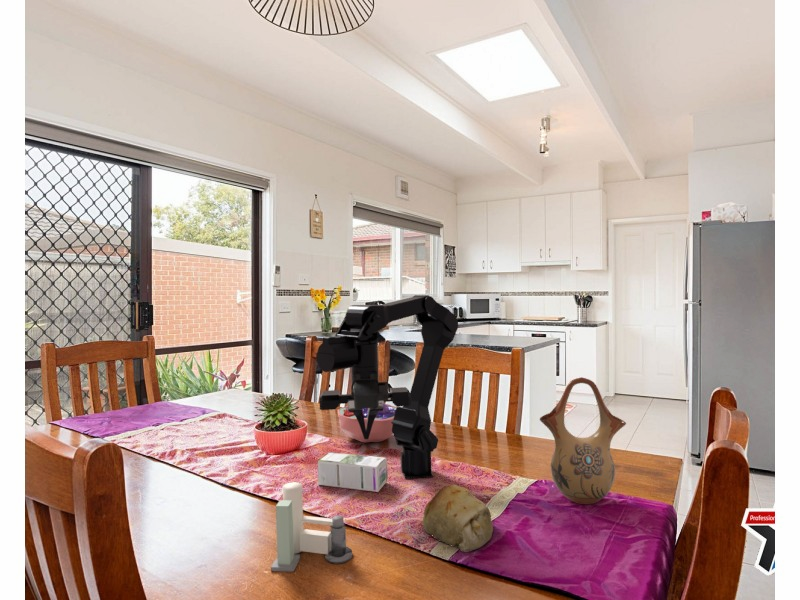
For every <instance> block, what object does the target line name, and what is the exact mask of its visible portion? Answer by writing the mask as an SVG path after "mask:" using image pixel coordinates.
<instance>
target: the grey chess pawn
mask: <svg viewBox="0 0 800 600" xmlns="http://www.w3.org/2000/svg"><path fill="white" fill-rule="evenodd" d="M330 532H331V551H330V552H329V554H324V555H325V556H324V559H325V561H326V562H327V563H329V564H332V565H341V564H344V563H345V564H346V563H347V562H349V561H350V560H352V557H353V550H352V548H350V547H349V546H347V536H346V535H347V533H346V532H347V531H346V524H345V523H344V525H343V526H342V527H340V528H334V527H333V526H332V525H330Z"/></svg>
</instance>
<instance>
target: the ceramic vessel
mask: <svg viewBox="0 0 800 600" xmlns="http://www.w3.org/2000/svg"><path fill="white" fill-rule="evenodd" d="M578 384H579V385H580V384H585V385H588V386H589V387H590V388H591V390H592V392H593V394H594V397H595V400H596V403H597V407H598V411H599V412H598V413H599V426H598V429H597V430H596V431H595V433H593V434H592V435H590V436H586V437H579V436H575V435H573V434H572V433H571V432H570V431H569V430H568V429H567V428H566V425H565V413H566V407H567V403H568V399H569V397H570V394H571V391H572V389H573V388H574V386H576V385H578ZM539 421H540V422H541V423H542V424H543V425H544V426H545V427H547V429H548V430H549V431H550V432H551V434H552V436H553V439H554V451H553V453H552V456H551V459H550V460H551V461H550V472H551V477H552V480H553V482H554V484H555V486H556V488H557V489H558V491H559V492H560V493H561V494H562V495H563V496H564V497H565V498H566V499H568V500H569V501H571V502H573V503H576V504H579V505H592V504H596V503H598V502H600V501H602V499H604V498H605V497H607V495H608V494H609V493H610V492H611V490H612V488H613V485H614V481H615V478H616V477H615V476H616V467H615V463H614V459H613V456H612V454H611V442H612V440H613V438H614V437H615V435H616V434H617V432H619V431H620V430H621V429H622V428H624V427H625V426H626V425H627V422H625V420H623V419H621V418H619V417H618V416H615V415H614V414H612V412H611V411H610V410H609V409H608V407H607V406H606V404H605V402H604V400H603V397H602V394H601V392H600V389H599V387H598V386H597V384H596V383H595V382H594V381H593V380H591V379H589V378H586V377H578V378H577V377H576V378H574V379H572V380H570V381H569V383H568V384H567V385H566V387H565V389H564V391H563V394H562V396H561V397H560V400H559V401H558V403H557V404H556V406H554V408H552V410H551V411H550V412H549V413H546V414H544V415H542V416H541V417H540V418H539Z"/></svg>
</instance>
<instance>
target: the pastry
mask: <svg viewBox="0 0 800 600" xmlns="http://www.w3.org/2000/svg"><path fill="white" fill-rule="evenodd" d="M422 526H423V529H424V531H425V532H426V533H427V534H428V535H430V536H431V535H433V536H432V537H435V538H436V539H438V540H437V541H439V540H440V541H439V542H441V541H442V542H441V543H444V542H445V543H444V544H446V545H448V544H449V545H448V546H451V545H452V547H455V546H457V547H456V548H459V547H460V548H459V549H460V550H459V551H461V550H462V551H461V552H463V551H464V553H468V551H470V552H473V551H475V550H478V549H480V548H482V547H483V546H484V545H485V544H487V543H489V541H490V540H491V539H492V538H493V531H494V525H493V521H492V515H491V511H490V509H489V508H488V506H487V505H486V504H485V503H484V502H483V501H481V500H480V499H478V498H477V497H475V496H474V495H473V494H472V493H471V492H470V490H469V489H468V488H467V487H466V488H465V487H463V486H459V485H458V484H455V483H452V482H451V484H448V485H445V486H443V487H441V488H437V489H436V492H435V494H434V495H433V497H432V498H431V499H430V500H429V501H428V502H427V504H426V505H425V508H424V511H423V517H422ZM435 538H434V539H435ZM436 539H435V540H436Z"/></svg>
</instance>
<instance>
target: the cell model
mask: <svg viewBox="0 0 800 600" xmlns="http://www.w3.org/2000/svg"><path fill="white" fill-rule="evenodd" d="M383 408H384V410H383V411H379V412H378V414H377V415H376V417H375V420H374V422H373V425H372V428H371V432H370V435H369V439H364V437H363V434H362V431H361V428H360V425H359V422H358V420H357V418H356V416H355V415H354V413H353V412H348V405H346V406H343V407H341V408H339V409H337V412H336V413H337V415H338V420H339V421H338V422H339V428H340V429H341V430H342V432H343V433H344V434H345V435H346V436H347V437H348V438H350V439H353V440H356V441H358V442H361V443H364V444H366V443H367V444H368V443H370V442H371V443H380V442H383V441H387V440H388V439H390V438H391V437H392V436H393V432H392V426H393V424H392V423H391V422H392V421H393V419H394V416H395V410H396V408H397V407H396V406H395V405H391V404H387V403H385V402H384V404H383ZM367 414H368V408H363V415H364V421H365V427H366V425H367Z"/></svg>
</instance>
